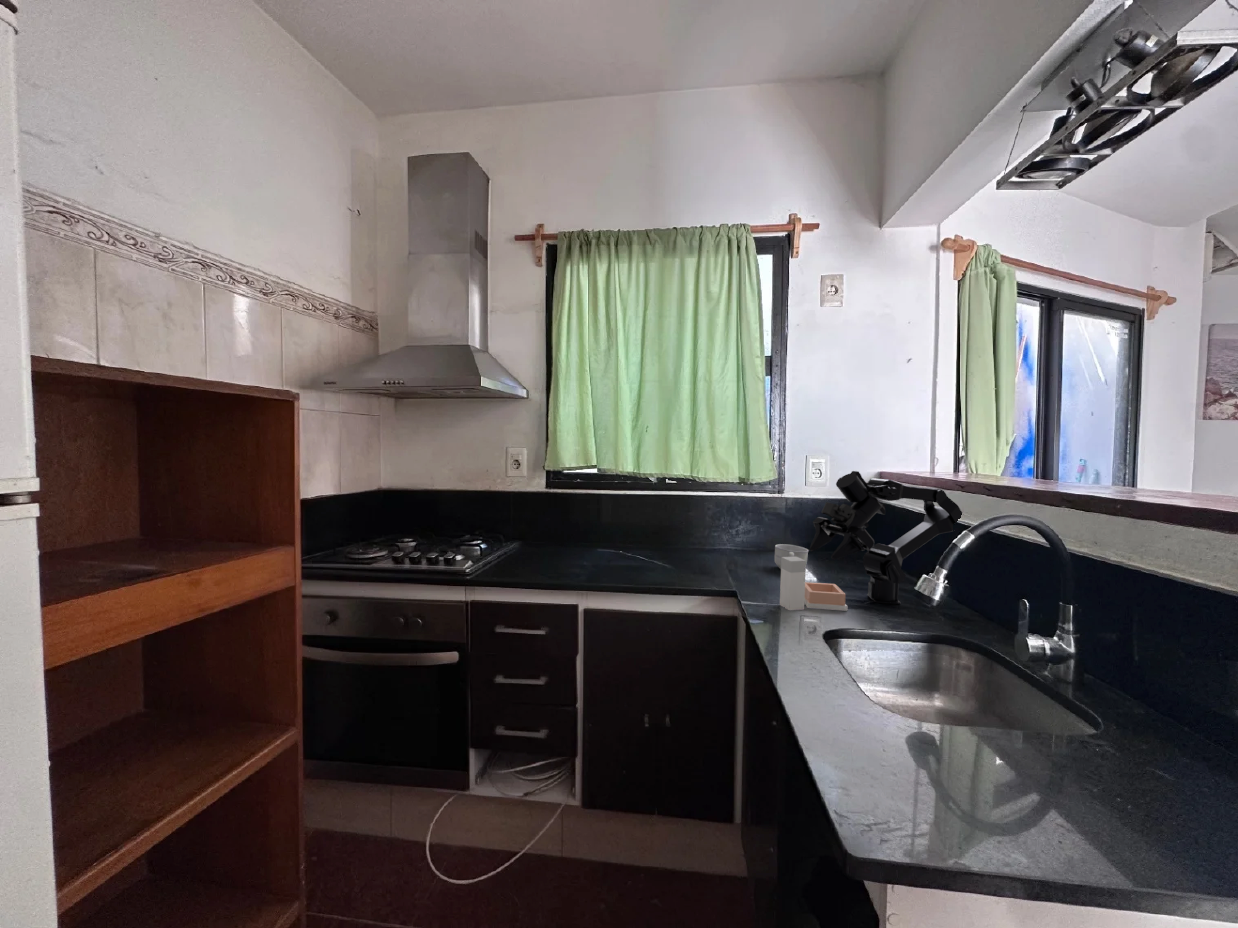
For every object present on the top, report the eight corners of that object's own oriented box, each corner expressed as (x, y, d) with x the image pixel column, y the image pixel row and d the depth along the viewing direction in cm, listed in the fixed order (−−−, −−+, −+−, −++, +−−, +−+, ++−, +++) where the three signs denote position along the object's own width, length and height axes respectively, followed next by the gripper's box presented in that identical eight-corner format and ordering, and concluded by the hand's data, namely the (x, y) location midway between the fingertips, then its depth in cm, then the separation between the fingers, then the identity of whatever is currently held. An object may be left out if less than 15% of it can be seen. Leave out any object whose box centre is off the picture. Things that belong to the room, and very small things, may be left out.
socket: (835, 598, 132) (836, 583, 131) (847, 610, 122) (848, 594, 122) (798, 595, 133) (799, 581, 133) (807, 607, 123) (808, 592, 123)
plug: (794, 603, 126) (796, 556, 126) (804, 609, 122) (805, 560, 122) (779, 604, 126) (781, 557, 125) (789, 610, 121) (790, 561, 121)
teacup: (777, 564, 168) (778, 542, 168) (809, 568, 162) (810, 546, 162) (768, 573, 156) (769, 549, 156) (803, 578, 151) (803, 554, 150)
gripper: (820, 489, 135) (784, 526, 133) (867, 496, 116) (825, 540, 115) (842, 516, 137) (807, 553, 135) (892, 528, 118) (851, 571, 117)
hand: (821, 554), depth 125 cm, fingers open, 9 cm apart
